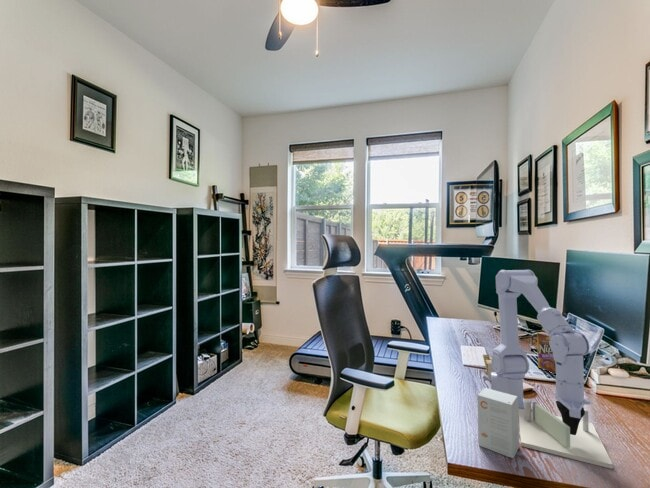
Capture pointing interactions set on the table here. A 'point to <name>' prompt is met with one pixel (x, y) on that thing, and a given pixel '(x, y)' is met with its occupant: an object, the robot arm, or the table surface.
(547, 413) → the gate
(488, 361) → the model
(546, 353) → the candy box
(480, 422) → the small box
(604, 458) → the gate frame
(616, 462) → the table surface
